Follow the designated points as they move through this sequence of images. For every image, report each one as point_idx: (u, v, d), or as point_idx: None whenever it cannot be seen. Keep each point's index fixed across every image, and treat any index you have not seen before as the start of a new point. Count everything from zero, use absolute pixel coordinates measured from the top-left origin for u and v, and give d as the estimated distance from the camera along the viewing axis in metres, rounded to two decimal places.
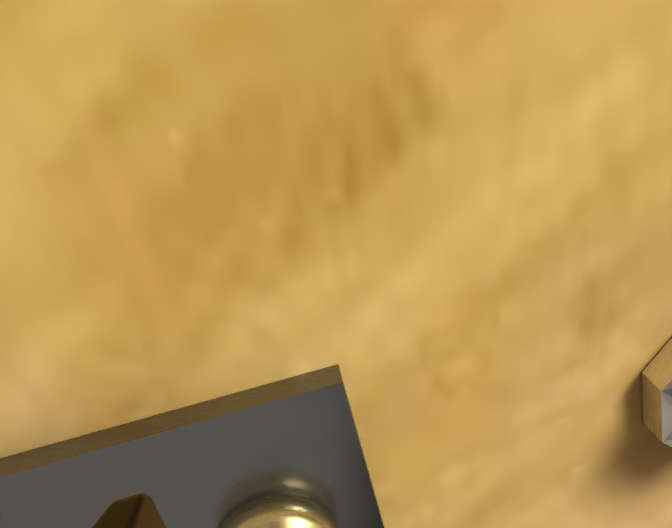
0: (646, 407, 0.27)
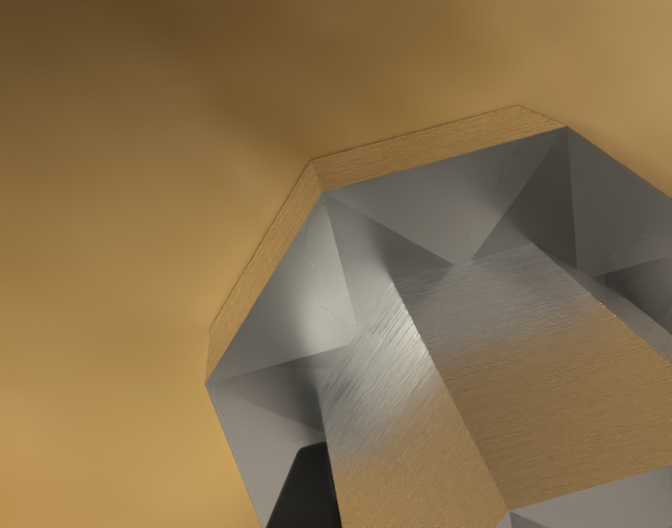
0: None
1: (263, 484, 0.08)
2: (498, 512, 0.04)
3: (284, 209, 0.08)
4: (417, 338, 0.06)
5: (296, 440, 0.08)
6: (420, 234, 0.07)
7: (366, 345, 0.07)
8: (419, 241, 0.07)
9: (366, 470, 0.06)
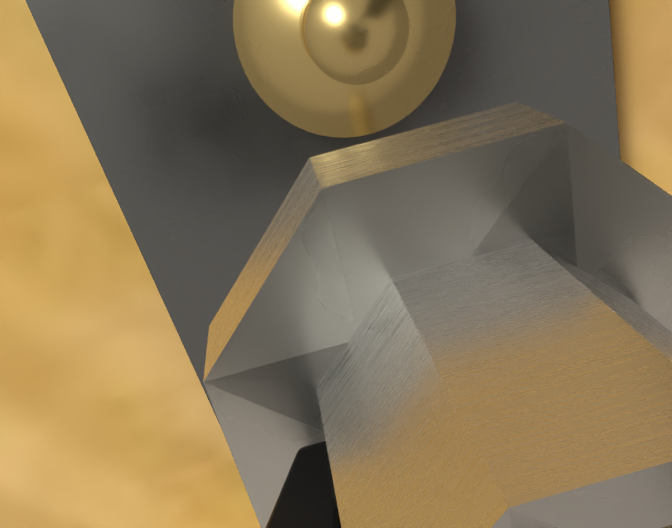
0: None
1: (262, 482, 0.08)
2: (497, 509, 0.04)
3: (283, 206, 0.08)
4: (416, 335, 0.06)
5: (295, 438, 0.08)
6: (419, 231, 0.07)
7: (365, 343, 0.07)
8: (418, 238, 0.07)
9: (365, 468, 0.06)
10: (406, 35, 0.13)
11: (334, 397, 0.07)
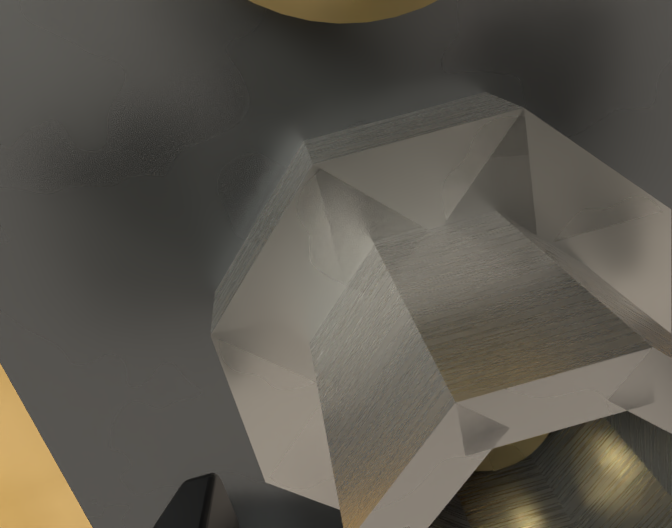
0: None
1: (261, 428, 0.09)
2: (447, 405, 0.05)
3: (280, 183, 0.09)
4: (392, 287, 0.07)
5: (291, 387, 0.09)
6: (398, 202, 0.08)
7: (351, 299, 0.08)
8: (397, 209, 0.08)
9: (348, 396, 0.07)
10: None
11: (324, 346, 0.08)
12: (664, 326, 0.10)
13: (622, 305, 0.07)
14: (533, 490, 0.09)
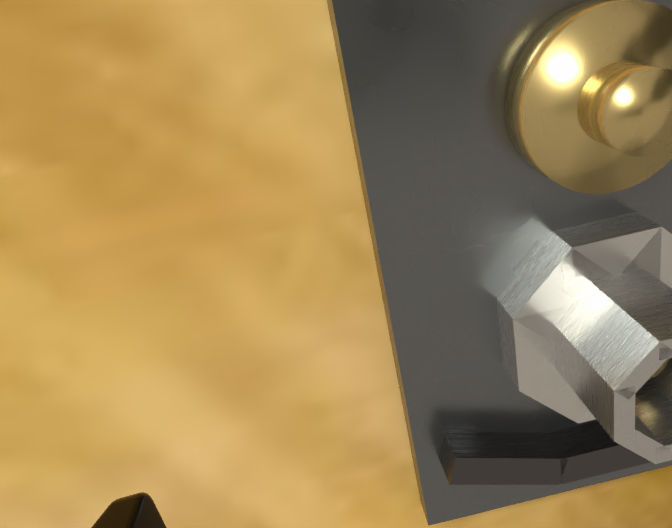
0: None
1: (523, 363, 0.20)
2: (655, 342, 0.16)
3: (540, 250, 0.20)
4: (610, 301, 0.18)
5: (541, 344, 0.20)
6: (603, 264, 0.19)
7: (581, 305, 0.19)
8: (602, 266, 0.19)
9: (595, 344, 0.18)
10: None
11: (568, 325, 0.19)
12: None
13: None
14: (654, 393, 0.19)
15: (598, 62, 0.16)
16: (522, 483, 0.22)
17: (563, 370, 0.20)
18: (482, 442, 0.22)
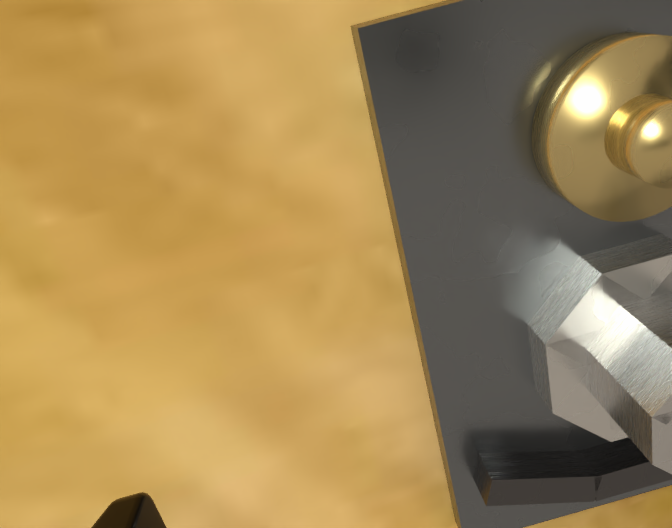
0: None
1: (556, 387, 0.21)
2: None
3: (568, 275, 0.20)
4: (642, 326, 0.18)
5: (573, 368, 0.20)
6: (632, 288, 0.19)
7: (612, 329, 0.19)
8: (632, 290, 0.19)
9: (629, 369, 0.18)
10: None
11: (600, 349, 0.19)
12: None
13: None
14: None
15: (624, 96, 0.17)
16: (557, 501, 0.23)
17: (596, 392, 0.20)
18: (516, 462, 0.23)
